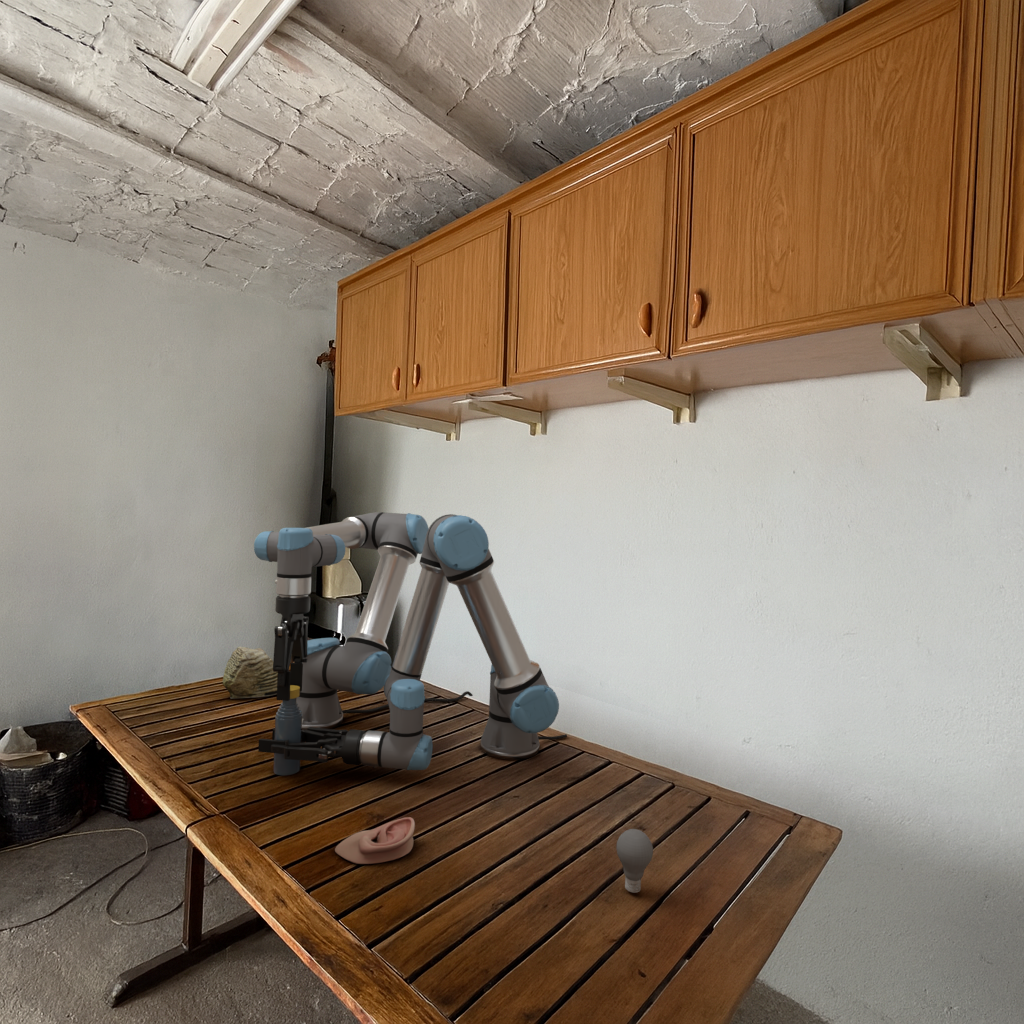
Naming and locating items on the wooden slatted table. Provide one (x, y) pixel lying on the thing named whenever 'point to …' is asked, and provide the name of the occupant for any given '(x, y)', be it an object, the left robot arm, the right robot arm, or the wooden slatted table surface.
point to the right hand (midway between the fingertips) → (266, 739)
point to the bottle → (287, 735)
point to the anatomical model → (379, 843)
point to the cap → (294, 691)
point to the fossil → (250, 674)
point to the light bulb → (634, 857)
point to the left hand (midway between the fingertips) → (289, 695)
